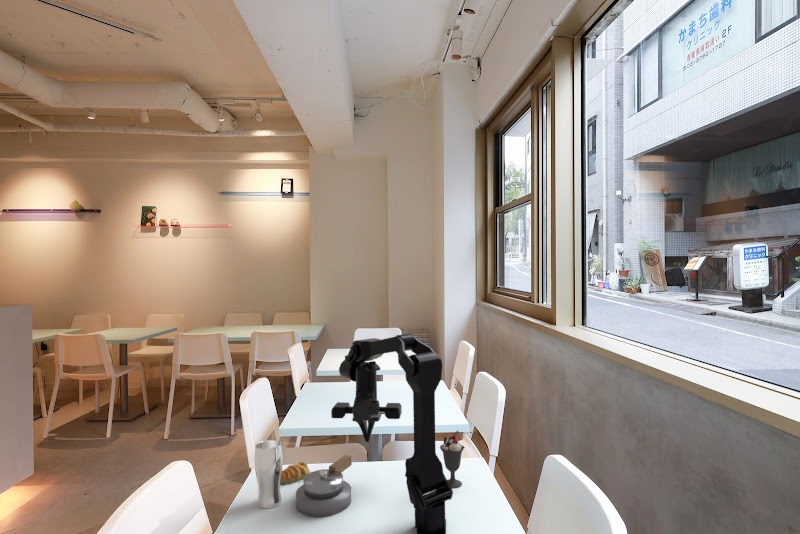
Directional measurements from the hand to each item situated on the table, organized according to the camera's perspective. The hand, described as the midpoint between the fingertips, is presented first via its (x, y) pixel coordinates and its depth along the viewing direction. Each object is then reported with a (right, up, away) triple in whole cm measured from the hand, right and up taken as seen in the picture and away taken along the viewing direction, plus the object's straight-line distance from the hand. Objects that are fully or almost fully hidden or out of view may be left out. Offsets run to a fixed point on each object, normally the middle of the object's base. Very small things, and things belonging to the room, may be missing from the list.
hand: (367, 441), depth 129 cm
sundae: (+23, -12, 0) cm, 26 cm away
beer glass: (-25, -13, -8) cm, 29 cm away
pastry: (-21, -13, +5) cm, 26 cm away
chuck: (-9, -9, -6) cm, 14 cm away
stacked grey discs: (-11, -12, -9) cm, 18 cm away
